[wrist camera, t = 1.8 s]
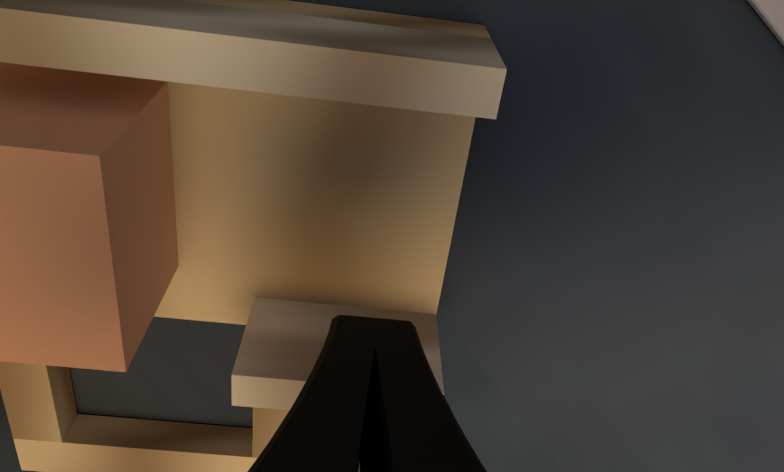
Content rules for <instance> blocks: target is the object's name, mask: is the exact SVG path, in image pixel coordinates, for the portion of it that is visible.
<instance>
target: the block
mask: <svg viewBox="0 0 784 472" xmlns="http://www.w3.org/2000/svg"><path fill="white" fill-rule="evenodd" d="M178 266H179V262H178V246H177V229H176V212H175V195H174V179H173V162H172V145H171V128H170V112H169V95H168V82H167V81H159V80H150V79H141V78H133V77H124V76H115V75H107V74H98V73H90V72H81V71H72V70H64V69H55V68H46V67H38V66H29V65H20V64H12V63H3V62H0V361H3V362H14V363H26V364H37V365H49V366H61V367H72V368H84V369H95V370H107V371H119V372H126V371H127V369H128V367H129V365H130V363H131V361H132V359H133V357H134V355H135V353H136V351H137V349H138V347H139V345H140V343H141V341H142V339H143V337H144V335H145V333H146V331H147V329H148V327H149V325H150V323H151V321H152V319H153V317H154V315H155V313H156V311H157V309H158V307H159V305H160V302H161V300H162V298H163V296H164V294H165V292H166V290H167V288H168V286H169V284H170V282H171V280H172V278H173V276H174V274H175V272H176V270H177V268H178Z"/></svg>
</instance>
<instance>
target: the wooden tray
mask: <svg viewBox="0 0 784 472" xmlns="http://www.w3.org/2000/svg"><path fill="white" fill-rule="evenodd" d="M0 62H3V63H12V64H20V65H29V66H38V67H46V68H55V69H64V70H72V71H81V72H90V73H98V74H107V75H115V76H124V77H133V78H141V79H150V80H159V81H167V82H168V95H169V112H170V128H171V145H172V162H173V179H174V195H175V212H176V229H177V246H178V262H179V266H178V268H177V270H176V272H175V274H174V276H173V278H172V280H171V282H170V284H169V286H168V288H167V290H166V292H165V294H164V296H163V298H162V300H161V302H160V305H159V307H158V309H157V311H156V313H155V315H154V316H155V317H166V318H176V319H187V320H198V321H209V322H220V323H231V324H242V325H246V328H245V331H244V334H243V338H242V341H241V344H240V348H239V351H238V355H237V358H236V361H235V365H234V368H233V372H232V406H244V407H253V428H243V427H231V426H219V425H206V424H194V423H182V422H170V421H158V420H145V419H133V418H121V417H109V416H96V415H84V414H77V408H76V403H75V398H74V392H73V387H72V381H71V376H70V370H69V367H61V366H49V365H37V364H26V363H14V362H3V361H0V390H1V394H2V398H3V402H4V405H5V409H6V413H7V417H8V421H9V424H10V428H11V432H12V436H13V439H14V443H15V447H16V451H17V455H18V458H19V462H20V466H21V470H28V471H41V472H248V470H249V469H250V468H251V466H252V465H253V464H254V462H255V461H256V459H257V458H258V457H259V455H260V454H261V452H262V451H263V450H264V448H265V447H266V445H267V444H268V443H269V441H270V440H271V438H272V437H273V435H274V433H275V432H276V430H277V429H278V427H279V426H280V424H281V423H282V421H283V420H284V418H285V416H286V415H287V413H288V412H289V410H290V409H291V407H292V405H293V404H294V402H295V400H296V399H297V397H298V395H299V393H300V391H301V390H302V388H303V386H304V384H305V382H306V380H307V379H308V377H309V375H310V373H311V371H312V369H313V367H314V365H315V363H316V361H317V359H318V357H319V355H320V353H321V350H322V348H323V346H324V343H325V341H326V338H327V335H328V332H329V329H330V325H331V320H332V319H333V318H334V317H336V316H337V315H349V316H361V317H372V318H383V319H395V320H406V321H411V322H412V324H413V325H414V326H415V327H416V330H417V334H418V337H419V340H420V343H421V345H422V348H423V351H424V353H425V356H426V358H427V361H428V363H429V365H430V367H431V370H432V372H433V374H434V377H435V379H436V381H437V383H438V385H439V387H440V389H441V392H442V394H443V395H444V387H443V377H442V367H441V357H440V346H439V336H438V326H437V316H436V314H437V309H438V304H439V299H440V294H441V289H442V284H443V279H444V273H445V268H446V263H447V258H448V253H449V248H450V243H451V238H452V233H453V228H454V223H455V218H456V213H457V208H458V203H459V198H460V193H461V188H462V183H463V178H464V173H465V168H466V163H467V158H468V153H469V148H470V143H471V138H472V133H473V128H474V123H475V118H476V117H479V118H488V119H496V118H497V113H498V108H499V104H500V99H501V94H502V90H503V85H504V81H505V76H506V71H507V68H506V66H505V64H504V62H503V60H502V58H501V57H500V55H499V53H498V51H497V49H496V47H495V45H494V43H493V41H492V39H491V37H490V35H489V33H488V31H487V29H486V27H485V25H481V24H473V23H465V22H457V21H449V20H441V19H433V18H425V17H417V16H409V15H401V14H393V13H385V12H377V11H369V10H361V9H353V8H345V7H337V6H329V5H321V4H313V3H305V2H297V1H289V0H0Z"/></svg>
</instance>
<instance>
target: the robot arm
mask: <svg viewBox="0 0 784 472" xmlns="http://www.w3.org/2000/svg"><path fill="white" fill-rule="evenodd" d="M747 1H748V2H749V3H750V5H751V6H752V7H753V8H754V10H755V11H756V12H757V13H758V15H759V16H760V17H761V18H762V20H763V21H764V22H765V23H766V25H767V26H768V27H769V29H770V30H771V31H772V32H773V34H774V35H775V36H776V37H777V39H778V40H779V41H780V42H781V44H782V45H783V46H784V0H747ZM359 461H360V472H487V471H486V470H485V468H484V467H483V465H482V464H481V462H480V460H479V459H478V457H477V455H476V454H475V452H474V450H473V449H472V447H471V445H470V444H469V442H468V440H467V439H466V437H465V435H464V433H463V431H462V430H461V428H460V426H459V424H458V423H457V421H456V419H455V417H454V415H453V413H452V411H451V409H450V407H449V405H448V403H447V401H446V399H445V397H444V395H443V394H442V392H441V389H440V387H439V385H438V383H437V381H436V379H435V377H434V374H433V372H432V370H431V367H430V365H429V363H428V361H427V358H426V356H425V353H424V351H423V348H422V345H421V343H420V340H419V337H418V334H417V330H416V327H415V326H414V325H413V324H412V322H411V321H406V320H395V319H383V318H372V317H361V316H349V315H337V316H336V317H334V318H333V319H332V320H331V325H330V329H329V332H328V335H327V338H326V341H325V343H324V346H323V348H322V350H321V353H320V355H319V357H318V359H317V361H316V363H315V365H314V367H313V369H312V371H311V373H310V375H309V377H308V379H307V380H306V382H305V384H304V386H303V388H302V390H301V391H300V393H299V395H298V397H297V399H296V400H295V402H294V404H293V405H292V407H291V409H290V410H289V412H288V413H287V415H286V416H285V418H284V420H283V421H282V423H281V424H280V426H279V427H278V429H277V430H276V432H275V433H274V435H273V437H272V438H271V440H270V441H269V443H268V444H267V445H266V447H265V448H264V450H263V451H262V452H261V454H260V455H259V457H258V458H257V459H256V461H255V462H254V464H253V465H252V466H251V468H250V469H249V470H248V472H358V468H359Z"/></svg>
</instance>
